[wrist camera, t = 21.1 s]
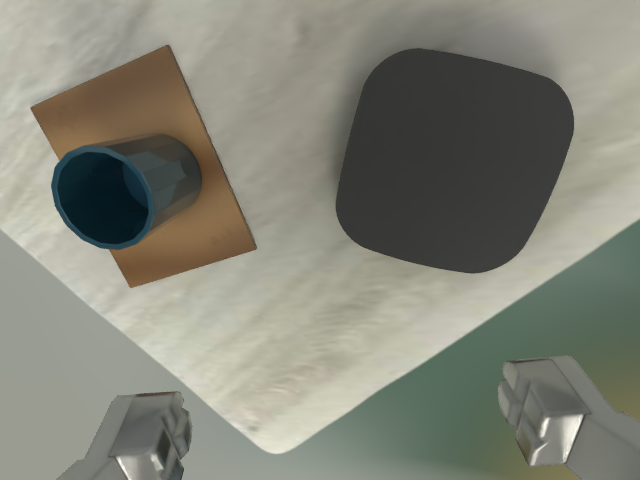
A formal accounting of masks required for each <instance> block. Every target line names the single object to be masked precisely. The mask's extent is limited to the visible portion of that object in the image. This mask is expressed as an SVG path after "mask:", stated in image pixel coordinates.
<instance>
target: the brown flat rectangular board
mask: <svg viewBox="0 0 640 480" xmlns="http://www.w3.org/2000/svg"><path fill="white" fill-rule="evenodd" d="M30 109H31V110H32V112H33V114H34V116H35V118H36V119H37V121H38V123H39V125H40V127H41V128H42V130H43V132H44V134H45V135H46V137H47V139H48V141H49V143H50V144H51V146H52V148H53V150H54V152H55V153H56V155H57V157H58V159H59V161H60V160H61V159H62V158H63V156H64V155H65V154H66V153H67V152H69V151H72V150H74V149H76V148H79V147H81V146H84V145H89V144H94V143H99V142H104V141H109V140H114V139H120V138H125V137H130V136H135V135H140V134H146V133H149V134H150V133H161V134H166V135H169V136H172V137H174V138H176V139H178V140H179V141H181V142H182V143H184V144H185V145H186V146H187V147H188V148H189V149H190V151H191V152H192V153H193V155H194V156H195V158H196V160H197V161H198V164H199V166H200V170H201V175H202V186H201V191H200V194H199V197H198V199H197V200H196V202H195V203H194V204H193V205H192V206H191V207H190V208H189V209H188V210H186V211H185V212H184V213H183V214H181V215H180V216H178V217H177V218H175V219H174V220H172V221H171V222H169V223H168V224H166V225H165V226H163V227H162V228H160V229H159V230H157V231H156V232H154V233H153V234H151V235H150V236H148V237H147V238H145V239H144V240H142V241H141V242H139V243H138V244H136V245H133V246H130V247H127V248H124V249H121V250H115V249H109V250H110V252H111V254H112V256H113V257H114V259H115V261H116V263H117V265H118V266H119V268H120V270H121V272H122V274H123V275H124V277H125V279H126V281H127V282H128V284H129V286H130V288H133V287H136V286H140V285H143V284H146V283H149V282H153V281H156V280H159V279H162V278H166V277H169V276H172V275H175V274H178V273H182V272H185V271H188V270H191V269H195V268H198V267H201V266H204V265H208V264H211V263H214V262H217V261H221V260H224V259H227V258H230V257H234V256H237V255H240V254H243V253H247V252H250V251H253V250H256V249H257V247H256V244H255V242H254V240H253V237H252V235H251V233H250V230H249V228H248V226H247V224H246V221H245V219H244V217H243V214H242V212H241V210H240V207H239V205H238V203H237V200H236V198H235V196H234V194H233V191H232V189H231V187H230V184H229V182H228V180H227V177H226V175H225V173H224V170H223V168H222V166H221V164H220V161H219V159H218V157H217V154H216V152H215V150H214V147H213V145H212V143H211V141H210V138H209V136H208V134H207V131H206V129H205V127H204V124H203V122H202V120H201V117H200V115H199V113H198V111H197V108H196V106H195V104H194V101H193V99H192V97H191V94H190V92H189V90H188V87H187V85H186V83H185V81H184V78H183V76H182V74H181V71H180V69H179V67H178V64H177V62H176V60H175V58H174V55H173V53H172V51H171V48H170V46H169V45H166V46H164V47H162V48H159V49H157V50H155V51H153V52H151V53H148V54H146V55H144V56H142V57H140V58H138V59H135V60H133V61H131V62H129V63H127V64H124V65H122V66H120V67H118V68H116V69H113V70H111V71H109V72H107V73H105V74H102V75H100V76H98V77H96V78H94V79H91V80H89V81H87V82H85V83H83V84H80V85H78V86H76V87H74V88H72V89H69V90H67V91H65V92H63V93H61V94H58V95H56V96H54V97H52V98H50V99H48V100H45V101H43V102H41V103H39V104H37V105H34V106H32V107H30Z"/></svg>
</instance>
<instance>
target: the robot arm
mask: <svg viewBox="0 0 640 480" xmlns="http://www.w3.org/2000/svg"><path fill="white" fill-rule="evenodd" d="M502 372H503V374H504V376H505V379H504V380H503V381H502V382H501V383H500V384H499V390H498V396H499V404H500V407H501V411H502V413H503V415H504V418H505V420H506V422H507V423H508V424H510V425H511V426H512V427H513V428H515V429H516V430H517V435H516V439H515V440H516V442H517V444H518V446H519V448H520V450H521V452H522V454H523V456H524V458H525V460H526V462H527V464H528V466H545V465H562V464H566V467H567V468H568V469H569V470H570V471H571V472H573V473H574V474H575V475H576V476H577V477H578V478H579V479H581V480H640V422H639V421H637V420H636V419H634V418H632V417H631V416H629V415H627V414H625V413H624V412H616V411H615V410H614V409H613V408H612V406H611V405H610V404H609V403H608V401H607V400H606V399H605V397H604V396H603V395H602V394H601V392H600V391H599V390H598V389H597V387H596V386H595V385H594V383H593V382H592V381H591V380H590V379H589V377H588V376H587V375H586V373H585V372H584V371H583V370H582V368H581V367H580V366H579V365H578V363H577V362H576V361H575V360H574V358H572V357H571V356H569V355H568V356H556V357H547V358H546V357H541V358H532V359H522V360H512V361H507V362H506V363H505V364H504V366H503V371H502ZM183 402H184V399H183V397H182V395H181V392H177V391H176V392H160V393H144V394H132V395H118V396H117V397H116V398H115V399H114V400H113V401H112V402H111V404H110V406H109V408H108V411H107V413H106V415H105V417H104V419H103V421H102V423H101V425H100V427H99V429H98V431H97V433H96V436H95V437H94V439H93V442H92V444H91V446H90V448H89V450H88V452H87V454H86V456H85V458H84V460H77V461H76V462H75V463H74V464H73V465H72V466H71V467H69V468H68V469H67V470H66V471H65V472H64V473H63V474H62V475H61V476H60V477H58V478H57V479H56V480H181V479H182V475H183V471H184V468H183V465H182V463H181V461H180V460H181V459H182V458H183V457H184V456H185V454H186V453H187V452H188V451H189V447H190V443H191V437H192V423H191V417H190V414H189V412H188V411H187V410H185V409H183V408H182V405H183Z"/></svg>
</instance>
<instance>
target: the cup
mask: <svg viewBox="0 0 640 480" xmlns="http://www.w3.org/2000/svg"><path fill="white" fill-rule="evenodd" d="M201 186H202V175H201V170H200V166H199V164H198V161H197V160H196V158H195V156H194V155H193V153H192V152H191V151H190V149H189V148H188V147H187V146H186V145H185V144H184V143H182V142H181V141H179V140H178V139H176V138H174V137H172V136H169V135H166V134H161V133H150V134H149V133H146V134H140V135H135V136H130V137H125V138H120V139H114V140H109V141H104V142H99V143H94V144H89V145H84V146H81V147H79V148H76V149H74V150H72V151H69V152H67V153H66V154H65V155H64V156H63V158H62V159H61V160H60V161H59V163H58V164H57V165H56V166H55V169H54V174H53V179H52V184H51V188H52V193H53V198H54V203H55V207H56V209H57V210H58V212H59V214H60V216H61V217H62V219H63V221H64V222H65V224H66V225H67V226H68V227H69V228H70V229H71V230H72V231H73V232H74V233H75V234H76V235H77V236H79V237H80V238H81V239H82V240H84V241H86V242H88V243H90V244H92V245H95V246H97V247H99V248H103V249H115V250H121V249H124V248H127V247H130V246H133V245H136V244H138V243H139V242H141V241H142V240H144V239H145V238H147V237H148V236H150V235H151V234H153V233H154V232H156V231H157V230H159V229H160V228H162V227H163V226H165V225H166V224H168V223H169V222H171V221H172V220H174V219H175V218H177V217H178V216H180V215H181V214H183V213H184V212H185V211H186V210H188V209H189V208H190V207H191V206H192V205H193V204H194V203H195V202H196V200H197V199H198V197H199V194H200V191H201Z"/></svg>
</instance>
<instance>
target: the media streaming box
mask: <svg viewBox="0 0 640 480" xmlns="http://www.w3.org/2000/svg"><path fill="white" fill-rule="evenodd" d="M573 131H574V116H573V111H572V107H571V104H570V101H569V99H568V97H567V95H566V94H565V92H564V91H563V90H562V88H561V87H560V86H559V85H558V84H557V83H555V82H554V81H553V80H551V79H549V78H547V77H544V76H541V75H538V74H535V73H532V72H528V71H525V70H521V69H518V68H514V67H511V66H507V65H503V64H499V63H495V62H491V61H486V60H482V59H477V58H473V57H468V56H463V55H457V54H452V53H446V52H440V51H434V50H427V49H419V48H417V49H409V50H404V51H401V52H398V53H396V54H394V55H392V56H390V57H388V58H387V59H385V60H384V61H383V62H381V63H380V64H379V65H378V66H377V67H376V68H375V69H374V70H373V72H372V73H371V74H370V76H369V77H368V79H367V80H366V82H365V84H364V87H363V90H362V93H361V97H360V100H359V104H358V107H357V111H356V114H355V118H354V122H353V125H352V129H351V133H350V137H349V141H348V145H347V149H346V154H345V158H344V163H343V167H342V172H341V177H340V182H339V188H338V193H337V199H336V212H337V217H338V220H339V222H340V224H341V226H342V228H343V230H344V231H345V232H346V234H347V235H348V236H349V237H350V238H351V239H352V240H353V241H354V242H356V243H357V244H359V245H360V246H362V247H364V248H366V249H369V250H372V251H375V252H378V253H381V254H384V255H387V256H391V257H394V258H397V259H401V260H405V261H408V262H412V263H416V264H420V265H425V266H429V267H434V268H439V269H445V270H451V271H457V272H464V273H481V272H486V271H489V270H492V269H495V268H497V267H500V266H502V265H503V264H505V263H507V262H508V261H510V260H511V259H512V258H514V257H515V256H516V255H517V254H518V253H519V252H520V251H521V250H522V249H523V247H524V246H525V244H526V242H527V241H528V239H529V237H530V235H531V234H532V232H533V230H534V228H535V226H536V225H537V223H538V221H539V219H540V217H541V215H542V213H543V211H544V209H545V207H546V204H547V202H548V200H549V198H550V196H551V193H552V191H553V189H554V186H555V184H556V182H557V179H558V177H559V174H560V171H561V169H562V166H563V163H564V160H565V158H566V155H567V152H568V149H569V146H570V142H571V139H572V136H573Z"/></svg>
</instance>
